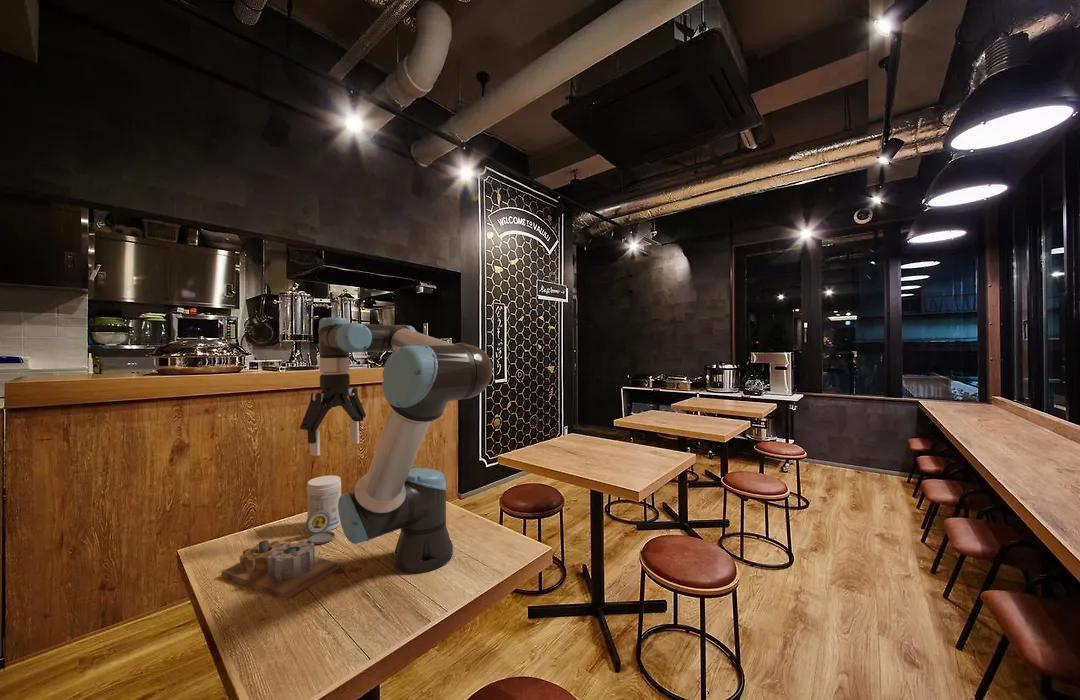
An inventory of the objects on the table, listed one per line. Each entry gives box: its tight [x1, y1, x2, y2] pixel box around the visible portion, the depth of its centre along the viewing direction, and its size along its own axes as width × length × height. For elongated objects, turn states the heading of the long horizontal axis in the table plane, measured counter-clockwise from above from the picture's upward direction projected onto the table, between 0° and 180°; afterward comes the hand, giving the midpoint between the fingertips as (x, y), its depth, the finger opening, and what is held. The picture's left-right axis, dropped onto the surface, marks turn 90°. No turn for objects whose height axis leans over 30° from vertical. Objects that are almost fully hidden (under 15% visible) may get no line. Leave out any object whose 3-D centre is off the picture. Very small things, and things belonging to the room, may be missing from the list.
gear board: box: [221, 539, 339, 601], centre depth 103 cm, size 23×14×6 cm, turn 66°
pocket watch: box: [305, 502, 336, 545], centre depth 121 cm, size 8×8×10 cm
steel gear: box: [267, 540, 316, 582], centre depth 101 cm, size 10×10×5 cm
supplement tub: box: [306, 475, 342, 532], centre depth 129 cm, size 10×10×15 cm
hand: (336, 449), depth 116 cm, fingers open, 13 cm apart
